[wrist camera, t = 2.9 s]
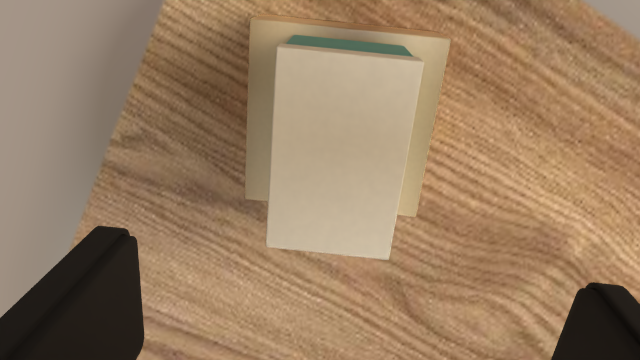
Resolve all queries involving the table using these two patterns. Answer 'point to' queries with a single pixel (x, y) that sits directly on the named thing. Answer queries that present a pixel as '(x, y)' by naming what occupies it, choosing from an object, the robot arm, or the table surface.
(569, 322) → the robot arm
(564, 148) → the table surface
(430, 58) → the square wooden board
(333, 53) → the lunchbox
